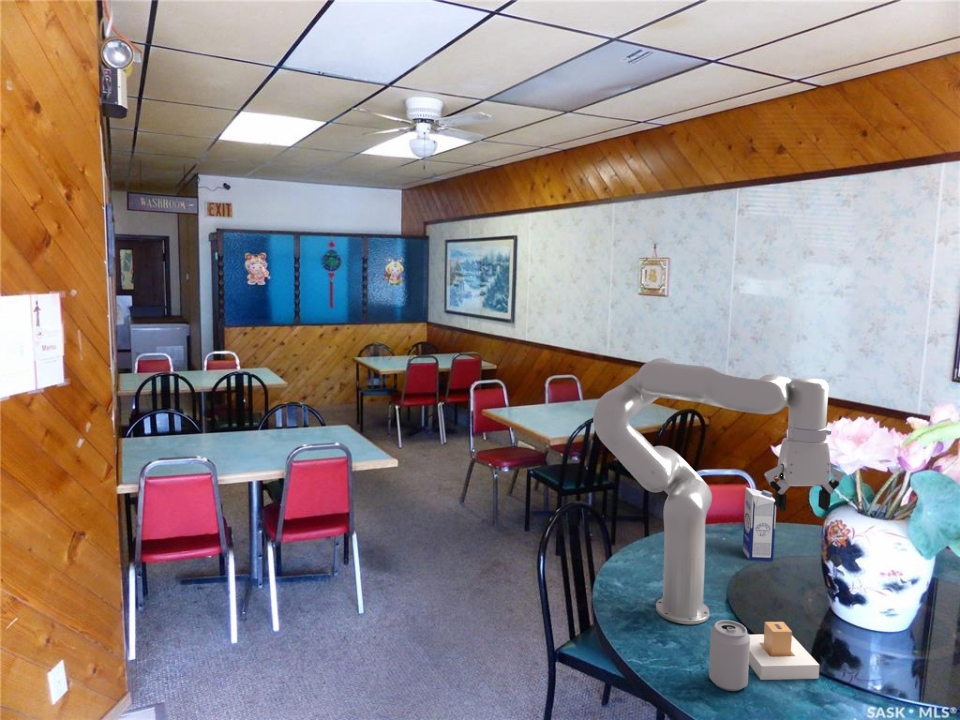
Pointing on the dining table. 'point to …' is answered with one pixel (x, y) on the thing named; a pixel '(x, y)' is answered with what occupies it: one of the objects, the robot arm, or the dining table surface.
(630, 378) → the robot arm
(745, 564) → the dining table surface
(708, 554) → the dining table surface
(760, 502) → the milk carton
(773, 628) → the charger
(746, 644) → the can
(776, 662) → the outlet plate
